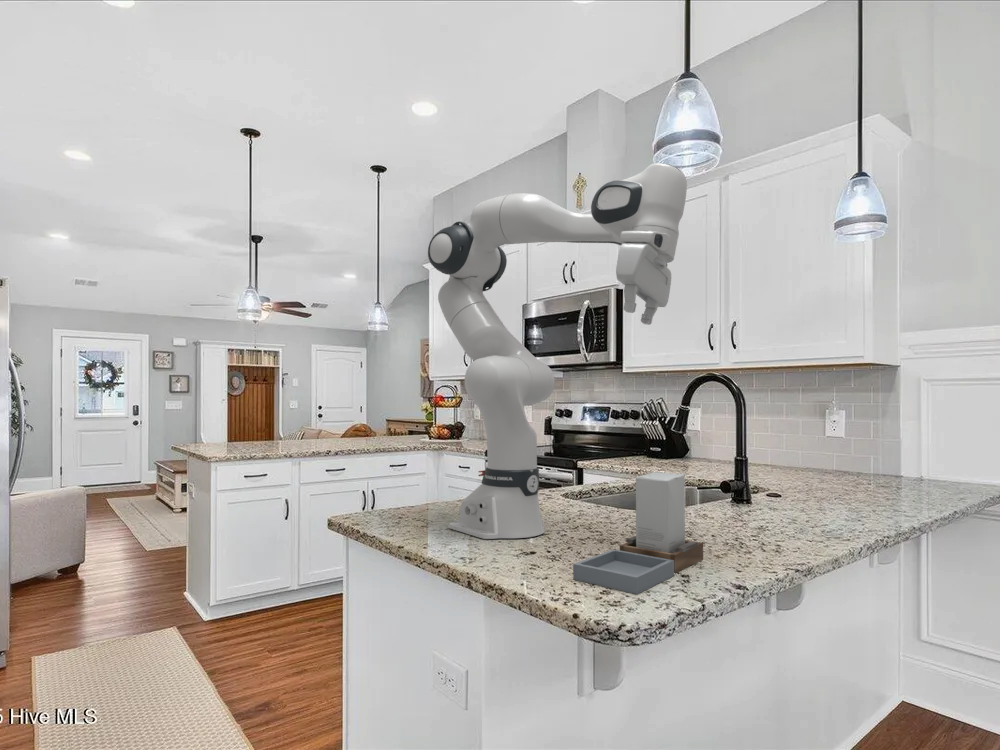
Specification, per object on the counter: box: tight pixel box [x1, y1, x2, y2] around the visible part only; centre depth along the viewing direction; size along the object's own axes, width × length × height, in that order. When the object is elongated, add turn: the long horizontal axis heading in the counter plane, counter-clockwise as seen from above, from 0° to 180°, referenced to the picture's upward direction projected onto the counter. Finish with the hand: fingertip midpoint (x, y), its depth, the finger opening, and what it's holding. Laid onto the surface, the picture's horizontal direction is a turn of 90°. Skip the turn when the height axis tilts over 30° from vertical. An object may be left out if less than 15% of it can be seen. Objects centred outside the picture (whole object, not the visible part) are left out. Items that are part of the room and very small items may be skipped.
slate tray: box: [572, 548, 675, 595], centre depth 99 cm, size 12×13×2 cm
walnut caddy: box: [619, 535, 704, 574], centre depth 109 cm, size 11×12×4 cm
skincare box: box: [635, 471, 686, 554], centre depth 109 cm, size 8×7×16 cm
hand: (637, 318), depth 115 cm, fingers open, 8 cm apart
